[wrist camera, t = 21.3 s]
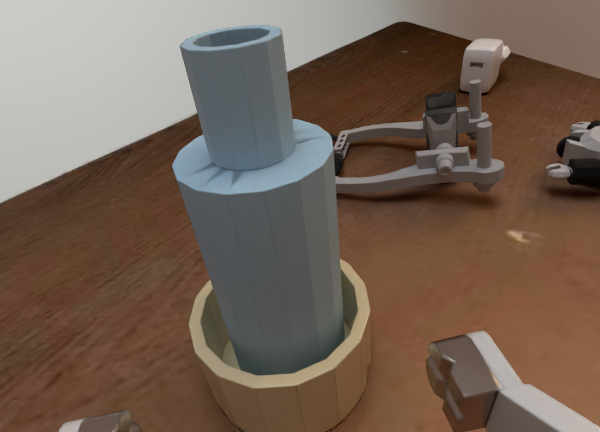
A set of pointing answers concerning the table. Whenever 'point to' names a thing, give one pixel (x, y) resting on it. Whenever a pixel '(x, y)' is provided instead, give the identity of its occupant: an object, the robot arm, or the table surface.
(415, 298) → the table surface
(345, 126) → the table surface
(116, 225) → the table surface
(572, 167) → the robot toy
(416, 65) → the table surface
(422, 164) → the bike brake
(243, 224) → the bottle
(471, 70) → the power adapter
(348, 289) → the holder
